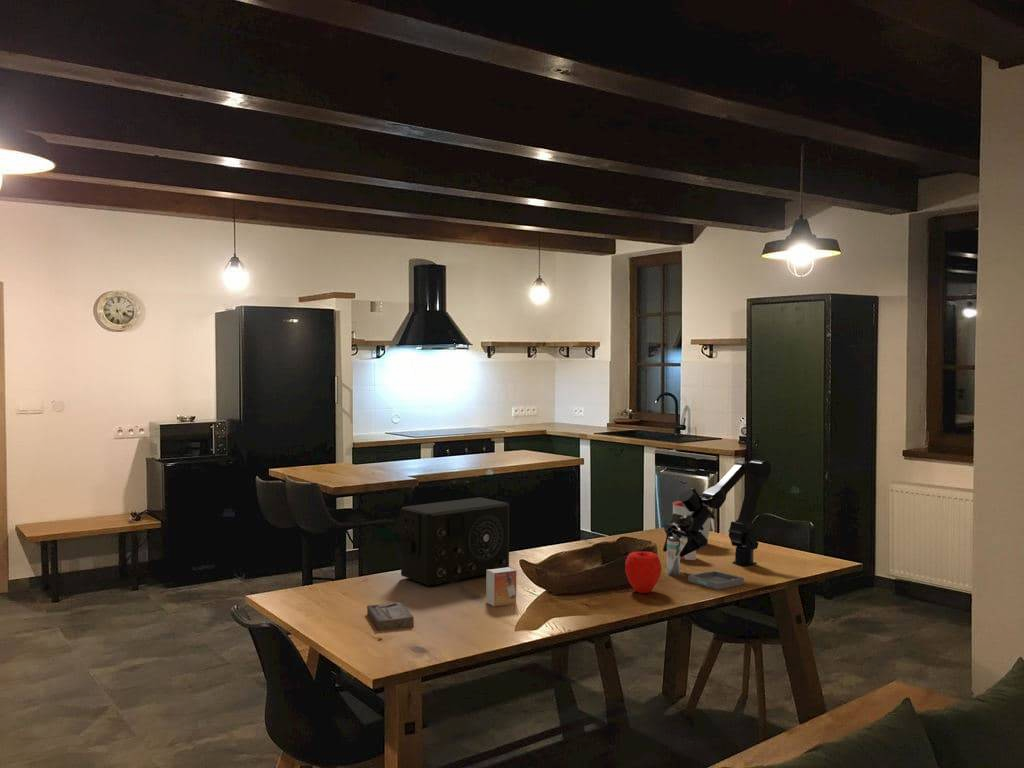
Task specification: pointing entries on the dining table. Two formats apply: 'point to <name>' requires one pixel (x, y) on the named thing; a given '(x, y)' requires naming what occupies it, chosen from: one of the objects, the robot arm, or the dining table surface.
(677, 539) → the canister
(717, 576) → the tray
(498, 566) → the vintage radio
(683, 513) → the citrus juicer
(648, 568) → the apple
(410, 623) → the box
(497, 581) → the small box
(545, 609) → the dining table surface
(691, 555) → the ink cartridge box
